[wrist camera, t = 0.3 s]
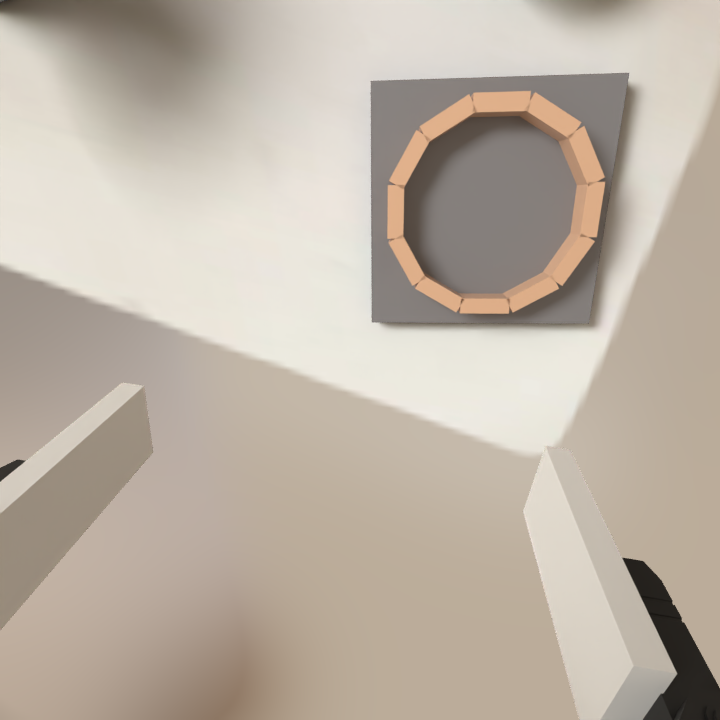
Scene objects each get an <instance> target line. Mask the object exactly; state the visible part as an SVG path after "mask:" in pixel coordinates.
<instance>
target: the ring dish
mask: <svg viewBox="0 0 720 720" xmlns="http://www.w3.org/2000/svg"><path fill="white" fill-rule="evenodd" d="M628 78H629V73H611V74H579V75H547V76H515V77H483V78H451V79H420V80H388V81H371V236H372V322H404V323H587V324H589V320H590V313H591V307H592V301H593V295H594V289H595V282H596V276H597V270H598V264H599V258H600V251H601V245H602V239H603V233H604V227H605V220H606V214H607V208H608V202H609V196H610V189H611V183H612V177H613V171H614V165H615V158H616V152H617V146H618V140H619V134H620V127H621V121H622V115H623V109H624V103H625V96H626V90H627V84H628Z"/></svg>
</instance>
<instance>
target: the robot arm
mask: <svg viewBox="0 0 720 720" xmlns="http://www.w3.org/2000/svg"><path fill="white" fill-rule="evenodd" d="M152 453H153V447H152V441H151V433H150V425H149V418H148V411H147V404H146V396H145V389H144V386H140V385H134V384H128V383H121V384H120V385H119V386H118V387H116V388H115V389H114V390H113V391H111V392H110V393H109V394H108V395H106V396H105V397H104V398H103V399H102V400H100V401H99V402H98V403H97V404H95V405H94V406H93V407H92V408H90V409H89V410H88V411H87V412H86V413H84V414H83V415H82V416H81V417H79V418H78V419H77V420H76V421H74V422H73V423H72V424H71V425H70V426H68V427H67V428H66V429H65V430H63V431H62V432H61V433H60V434H58V435H57V436H56V437H55V438H54V439H52V440H51V441H50V442H49V443H47V444H46V445H45V446H44V447H42V448H41V449H40V450H39V451H38V452H37V453H35V454H34V455H33V456H31V457H30V458H29V459H28V460H27V461H23V460H16V461H14V462H11V463H9V464H7V465H6V466H3V467H1V468H0V630H1V629H2V628H3V627H4V625H5V624H6V623H7V622H8V621H9V620H10V618H11V617H12V616H13V615H14V614H15V613H16V611H17V610H18V609H19V608H20V607H21V606H22V604H23V603H24V602H25V601H26V600H27V599H28V598H29V596H30V595H31V594H32V593H33V592H34V590H35V589H36V588H37V587H38V586H39V585H40V583H41V582H42V581H43V580H44V579H45V578H46V576H47V575H48V574H49V573H50V572H51V571H52V570H53V568H54V567H55V566H56V565H57V564H58V562H59V561H60V560H61V559H62V558H63V557H64V556H65V554H66V553H67V552H68V551H69V550H70V548H71V547H72V546H73V545H74V544H75V543H76V541H77V540H78V539H79V538H80V537H81V536H82V535H83V533H84V532H85V531H86V530H87V529H88V527H89V526H90V525H91V524H92V523H93V522H94V521H95V519H96V518H97V517H98V516H99V515H100V514H101V512H102V511H103V510H104V509H105V508H106V507H107V506H108V504H109V503H110V502H111V501H112V500H113V499H114V497H115V496H116V495H117V494H118V493H119V491H120V490H121V489H122V488H123V487H124V486H125V484H126V483H127V482H128V481H129V480H130V479H131V478H132V476H133V475H134V474H135V473H136V472H137V471H138V469H139V468H140V467H141V466H142V465H143V464H144V462H145V461H146V460H147V459H148V458H149V457H150V455H151V454H152ZM523 513H524V516H525V520H526V524H527V528H528V531H529V535H530V539H531V543H532V546H533V550H534V553H535V557H536V561H537V565H538V568H539V572H540V576H541V579H542V583H543V587H544V590H545V594H546V598H547V602H548V605H549V609H550V613H551V616H552V620H553V624H554V628H555V631H556V635H557V639H558V642H559V646H560V650H561V653H562V657H563V661H564V665H565V668H566V672H567V676H568V679H569V683H570V686H571V690H572V694H573V698H574V702H575V705H576V709H577V713H578V717H579V720H720V688H719V686H718V684H717V682H716V681H715V679H714V677H713V675H712V673H711V671H710V670H709V668H708V666H707V664H706V662H705V660H704V658H703V657H702V655H701V653H700V651H699V649H698V647H697V646H696V644H695V642H694V640H693V638H692V636H691V634H690V633H689V631H688V629H687V627H686V625H685V623H683V622H682V621H681V619H682V618H681V616H680V614H679V612H678V610H677V609H676V607H675V605H673V604H672V599H671V597H670V596H669V594H668V592H667V590H666V588H665V586H664V585H663V583H662V581H661V580H660V579H659V577H658V576H657V575H656V574H655V573H654V572H653V571H652V570H651V569H650V568H649V567H648V566H647V565H646V564H645V563H644V562H643V561H639V560H633V559H627V558H622V557H621V555H620V553H619V550H618V548H617V547H616V544H615V542H614V540H613V538H612V536H611V534H610V532H609V529H608V527H607V525H606V523H605V521H604V519H603V517H602V515H601V513H600V511H599V508H598V506H597V504H596V502H595V500H594V498H593V496H592V494H591V492H590V490H589V487H588V485H587V483H586V481H585V479H584V477H583V475H582V473H581V471H580V469H579V466H578V464H577V462H576V460H575V458H574V456H573V454H572V452H571V450H569V449H562V448H556V447H549V446H545V449H544V452H543V455H542V458H541V461H540V464H539V467H538V470H537V472H536V475H535V478H534V481H533V484H532V487H531V490H530V493H529V496H528V499H527V502H526V505H525V507H524V510H523Z"/></svg>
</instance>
